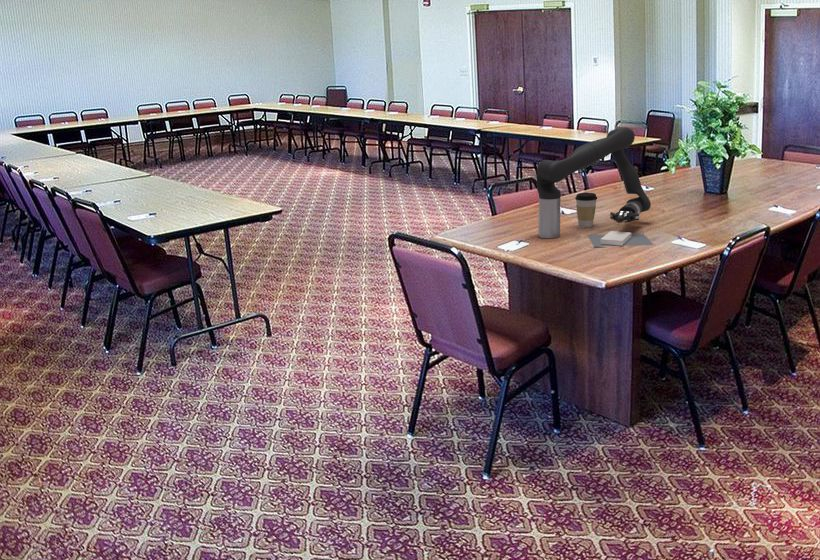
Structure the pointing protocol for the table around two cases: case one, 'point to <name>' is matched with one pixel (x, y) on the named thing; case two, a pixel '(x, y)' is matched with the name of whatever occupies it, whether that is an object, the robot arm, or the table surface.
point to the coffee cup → (585, 209)
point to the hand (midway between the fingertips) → (619, 220)
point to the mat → (634, 240)
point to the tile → (615, 238)
